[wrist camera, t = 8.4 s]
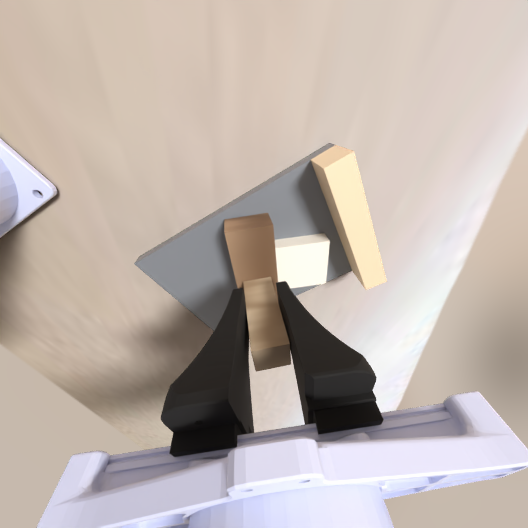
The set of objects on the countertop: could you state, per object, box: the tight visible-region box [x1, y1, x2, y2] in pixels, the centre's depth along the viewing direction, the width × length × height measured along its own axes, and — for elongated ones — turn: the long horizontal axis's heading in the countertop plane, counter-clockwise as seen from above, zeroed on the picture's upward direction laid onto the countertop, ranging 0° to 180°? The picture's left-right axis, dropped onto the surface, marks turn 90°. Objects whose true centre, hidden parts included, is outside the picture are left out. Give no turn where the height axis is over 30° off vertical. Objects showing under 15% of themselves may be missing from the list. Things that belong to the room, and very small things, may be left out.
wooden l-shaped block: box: [224, 213, 291, 371], centre depth 14 cm, size 3×10×8 cm, turn 6°
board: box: [135, 143, 387, 331], centre depth 16 cm, size 16×10×4 cm, turn 119°
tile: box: [275, 233, 330, 288], centre depth 16 cm, size 4×4×1 cm
